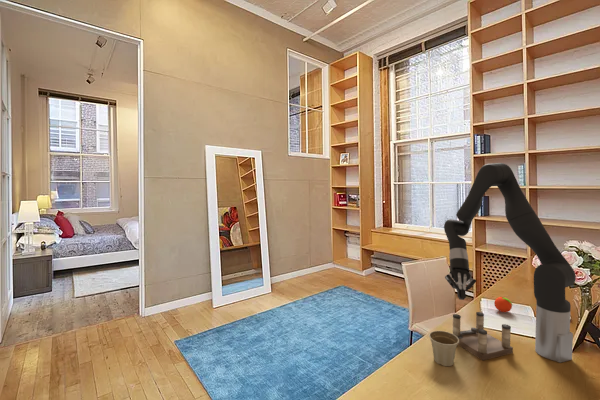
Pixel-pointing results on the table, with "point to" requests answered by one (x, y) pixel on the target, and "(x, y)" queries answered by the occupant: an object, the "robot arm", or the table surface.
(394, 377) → the table surface
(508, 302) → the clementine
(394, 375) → the table surface
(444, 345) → the flower pot
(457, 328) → the swing leg
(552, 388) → the table surface
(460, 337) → the stool
